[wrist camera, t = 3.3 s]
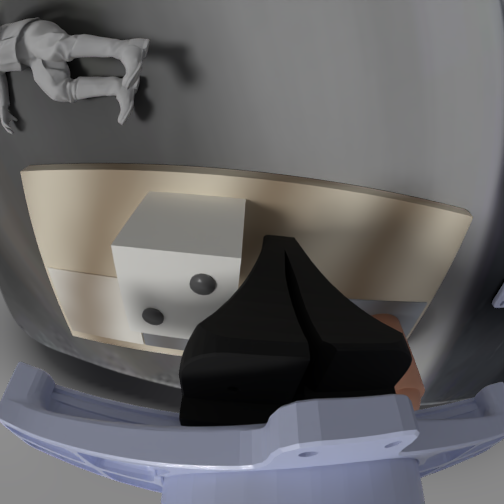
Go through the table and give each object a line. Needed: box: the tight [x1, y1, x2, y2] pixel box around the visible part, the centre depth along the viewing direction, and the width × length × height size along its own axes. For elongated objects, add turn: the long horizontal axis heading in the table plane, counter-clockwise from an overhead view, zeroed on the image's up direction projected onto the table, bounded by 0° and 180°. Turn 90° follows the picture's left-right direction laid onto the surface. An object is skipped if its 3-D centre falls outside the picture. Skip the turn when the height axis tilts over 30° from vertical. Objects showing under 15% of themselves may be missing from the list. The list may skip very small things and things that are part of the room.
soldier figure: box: [0, 17, 150, 134], centre depth 7 cm, size 8×5×12 cm
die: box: [111, 191, 246, 339], centre depth 11 cm, size 4×4×4 cm
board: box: [20, 163, 473, 356], centre depth 15 cm, size 22×12×1 cm, turn 84°
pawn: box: [371, 314, 425, 411], centre depth 14 cm, size 4×4×6 cm
